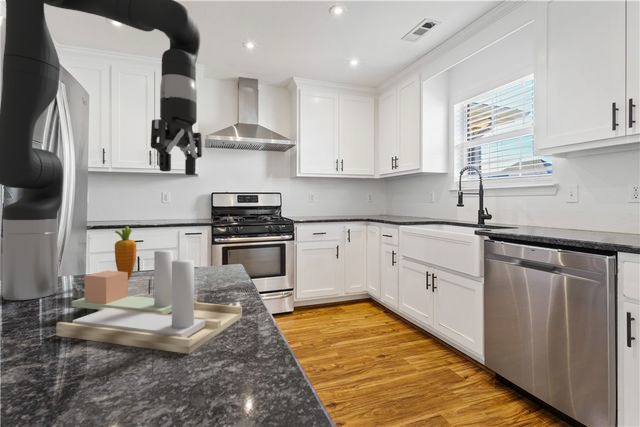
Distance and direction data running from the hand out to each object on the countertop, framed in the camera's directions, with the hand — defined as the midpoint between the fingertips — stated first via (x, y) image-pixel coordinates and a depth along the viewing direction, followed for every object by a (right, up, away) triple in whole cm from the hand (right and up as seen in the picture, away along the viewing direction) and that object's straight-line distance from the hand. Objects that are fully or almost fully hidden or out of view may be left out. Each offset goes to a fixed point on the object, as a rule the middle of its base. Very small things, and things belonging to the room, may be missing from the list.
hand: (178, 173), depth 74 cm
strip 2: (-5, -27, -11) cm, 29 cm away
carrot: (-20, -28, +14) cm, 37 cm away
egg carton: (-18, -28, 0) cm, 34 cm away
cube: (-10, -26, -9) cm, 29 cm away
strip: (+3, -27, -21) cm, 34 cm away
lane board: (+4, -29, -17) cm, 33 cm away
